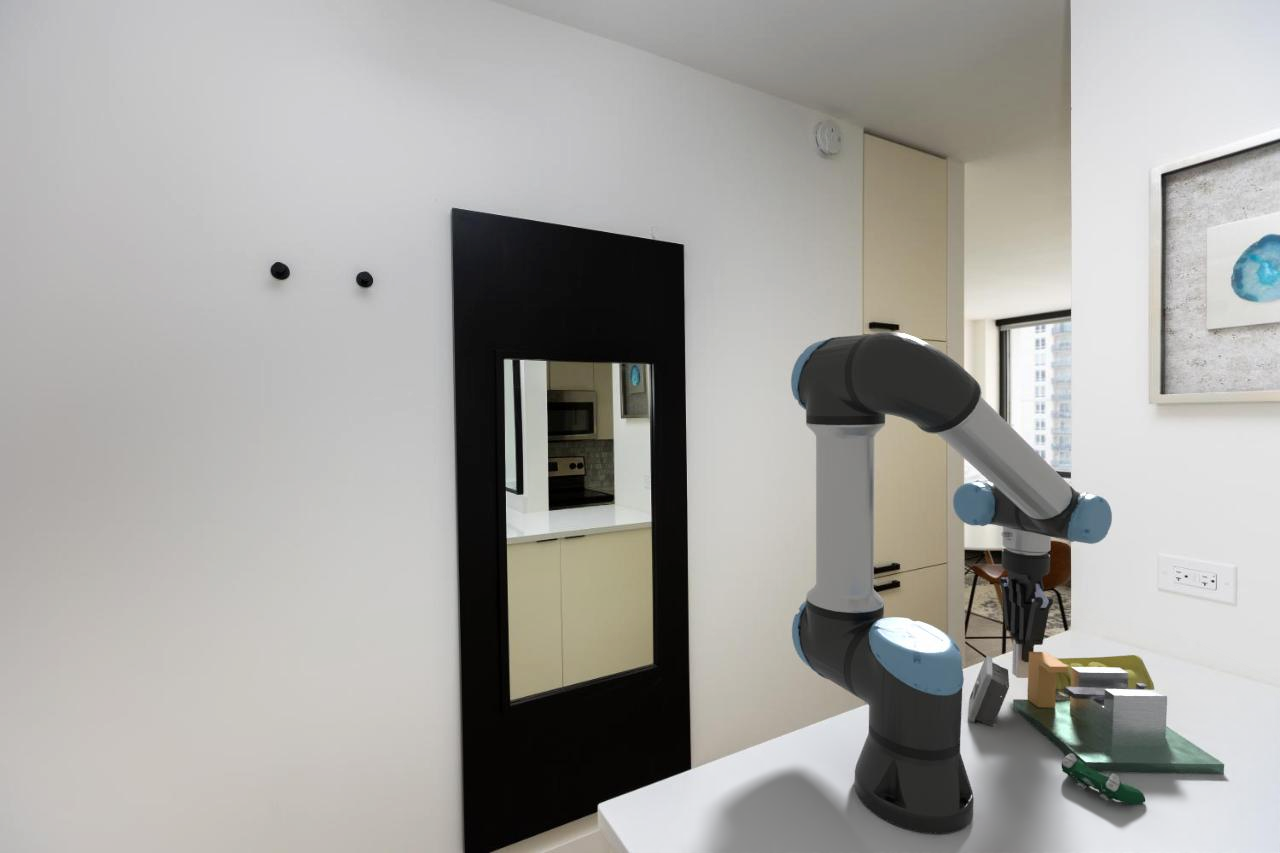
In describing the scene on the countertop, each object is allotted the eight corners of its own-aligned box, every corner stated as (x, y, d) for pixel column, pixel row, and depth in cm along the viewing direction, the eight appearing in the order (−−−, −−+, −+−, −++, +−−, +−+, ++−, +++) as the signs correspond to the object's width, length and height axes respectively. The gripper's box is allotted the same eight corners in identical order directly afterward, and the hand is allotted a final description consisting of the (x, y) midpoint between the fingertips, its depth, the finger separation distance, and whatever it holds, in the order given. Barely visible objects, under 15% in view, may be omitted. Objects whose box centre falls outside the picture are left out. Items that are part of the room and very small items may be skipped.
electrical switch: (969, 700, 115) (976, 651, 114) (1001, 709, 112) (1008, 660, 111) (967, 723, 107) (974, 671, 106) (1002, 734, 104) (1010, 681, 103)
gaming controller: (1066, 784, 93) (1049, 764, 91) (1077, 761, 94) (1061, 741, 92) (1137, 822, 85) (1121, 801, 83) (1149, 797, 86) (1133, 776, 84)
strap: (1074, 699, 101) (1074, 693, 101) (1063, 691, 103) (1064, 685, 103) (1160, 702, 100) (1160, 695, 100) (1147, 694, 103) (1148, 688, 103)
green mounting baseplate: (1085, 771, 93) (1087, 709, 92) (1012, 707, 112) (1014, 655, 111) (1223, 773, 92) (1226, 711, 92) (1127, 708, 111) (1129, 656, 111)
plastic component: (1098, 657, 128) (1145, 654, 119) (1110, 696, 125) (1159, 696, 116) (1017, 659, 123) (1059, 656, 114) (1028, 700, 120) (1071, 700, 111)
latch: (1048, 716, 106) (1050, 666, 105) (1027, 698, 112) (1028, 651, 111) (1066, 716, 106) (1068, 666, 105) (1044, 699, 112) (1046, 651, 111)
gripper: (986, 541, 121) (983, 660, 123) (1026, 559, 108) (1022, 692, 110) (1025, 541, 121) (1022, 660, 123) (1070, 559, 108) (1066, 693, 109)
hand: (1022, 675), depth 116 cm, fingers closed
